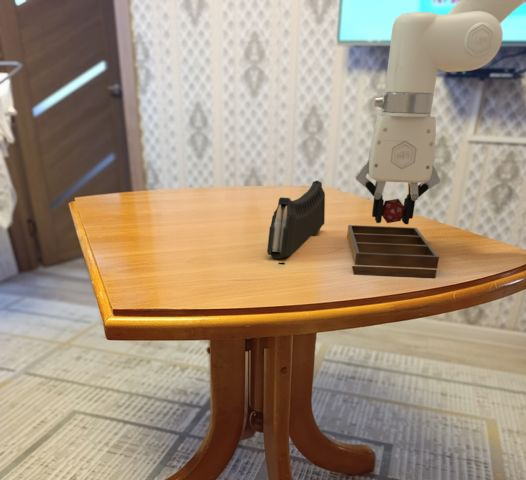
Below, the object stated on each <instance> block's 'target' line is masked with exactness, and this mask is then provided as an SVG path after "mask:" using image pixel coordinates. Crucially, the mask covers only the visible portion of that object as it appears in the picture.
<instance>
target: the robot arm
mask: <svg viewBox="0 0 526 480" xmlns="http://www.w3.org/2000/svg"><path fill="white" fill-rule="evenodd" d="M525 3H526V0H458V1H457V3H455V4H454V6H453V7H452V8H451V10H450V11H449V12H448V13H447V14H438V13H435V12H429V11H428V12H427V11H417V12H416V11H415V12H406V13H402V14H400V15H398V16H397V17H396V18H395V19H394V21H393V24H392V29H391V36H390V45H389V53H388V62H387V71H386V79H385V87H384V88H385V89H384V93H383V94H382V95H381V96H377V97H376V96H375V97H374V102H373V106H374V107H378V108H380V109H381V111H382V112H381V114H378V115H377V118H376V120H375V125H374V129H373V133H372V137H371V141H370V148H369V153H368V159H367V160H366V161H365V163H364V164H363V165H362V167H361V168H360V169H359V171H358V172H357V174H356V175H355V176H354V177H355V180H356V181H357V182H358V183H359V184H361V185H362V186H363V187H365V188H366V189H367V190H368V192H369V193H370V194H371V195H372V197H373V204H372V213H371V217H372V218H374V221H375V223H376V224H380V223H382V219H383V216H382V211H383V205H384V202H385V200H384V196H383V193H384V190H385V187H386V183H387V182H388V183H407V195H406V197H405V198H404V200H403V206H404V207H405V208H406V209H405V212H404V214H403V216H402V219H401V221H402V223H403V224H404V225H409V223H410V219H413V217H414V212H415V205H416V201H418V199H419V198H420V197H421V196H422V195H423V194H424V193H426V192H427V191H428V190H430V189H432V188H433V187H435V186H436V185H438V184H440V182H441V178H440V177H439V175H438V172H437V170H436V168H435V165H434V158H435V149H436V135H437V134H436V133H437V119H436V116H431V114H432V109H433V102H434V95H435V94H434V93H435V89H436V82H437V76H438V72H439V71H442V72H445V73H456V72H469V71H474V70H478V69H480V68H482V67H484V66H486V65H487V64H489V63H490V62H491V61H492V60H493V59H494V58H495V57H496V56H497V54H498V52H499V50H500V49H501V45H502V42H503V37H504V36H503V33H504V32H503V27H502V25H501V23H502V22H503V21H505V20H506V18H508V17H509V16H510V15H511V14H512V13H513V12H515V10H516V9H518V8H519V7H521V5H523V4H525ZM438 70H439V71H438ZM367 175H368V176H369V177H370V178H371V179H372V180H374V181H375V184H374V183H373V182H372V181H371V180H370V179H369V178H368V177H367Z"/></svg>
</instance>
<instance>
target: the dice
mask: <svg viewBox="0 0 526 480" xmlns="http://www.w3.org/2000/svg"><path fill="white" fill-rule="evenodd" d="M405 209H406V208H405V207H404V203H402V202H401V200H400V199H399V198H394V199H388V200H384V204H383V211H382V219H384V220H385V222H386V224H391V223H397V222H401V221H402V216H403V214H404V212H405Z"/></svg>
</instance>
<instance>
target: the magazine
mask: <svg viewBox="0 0 526 480" xmlns="http://www.w3.org/2000/svg"><path fill="white" fill-rule="evenodd" d="M277 203H278V204H277V206H276V209H275V211H274V212H273V215H272V217H271V223H270V226H269V231H268V240H267V250H266V253H267V255H268V256H271V257H272V258H273V259H276V260H277V259H278V260H282V259H285V258H290V257H291V256H293V255H294V254H295V252H296V251H298V249H300V248H301V247H302V245H304V244H305V242H306V241H308V240H309V239H310V238H311V237H316V236H317V234H318V233H319V232H320V230H321V228H322V227H323V226H324V225H325V221H326V220H325V217H326V216H325V212H326V211H325V209H326V194H325V191H324V189H323V183H322V182H321V181H320V180H314V181H312V183H311V185H310V188H309V189H308V190H307V191H306V192H304V194H303V195H302V196H300V197H299V198H297V199H294V200H292V199H291V198H290V197H283V196H282V197H279V198H278V202H277ZM278 265H284V266H285V265H286V263H285V262H278Z"/></svg>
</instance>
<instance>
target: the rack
mask: <svg viewBox="0 0 526 480" xmlns="http://www.w3.org/2000/svg"><path fill="white" fill-rule="evenodd" d="M346 238H347V239H348V243H349V248H350V251H351V256H352V259H353V263H354V265H351V268H352V272H353V275H355V276H356V275H357V276H374V277H375V276H378V277H398V278H419V279H421V278H422V279H436V276H437V272H438V265H439V260H440V256H439V254H437V252H436V251H435V250H434V249H433V247H432V246H431V245H430V243H429V242H428V240H427V239H426V238H425V237H424V235H423V234H422V232H421V231H420V230H419V229H418V227H412V226H411V227H409V226H384V225H380V226H378V225H361V224H360V225H359V224H358V225H357V224H348V225H347V234H346Z"/></svg>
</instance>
